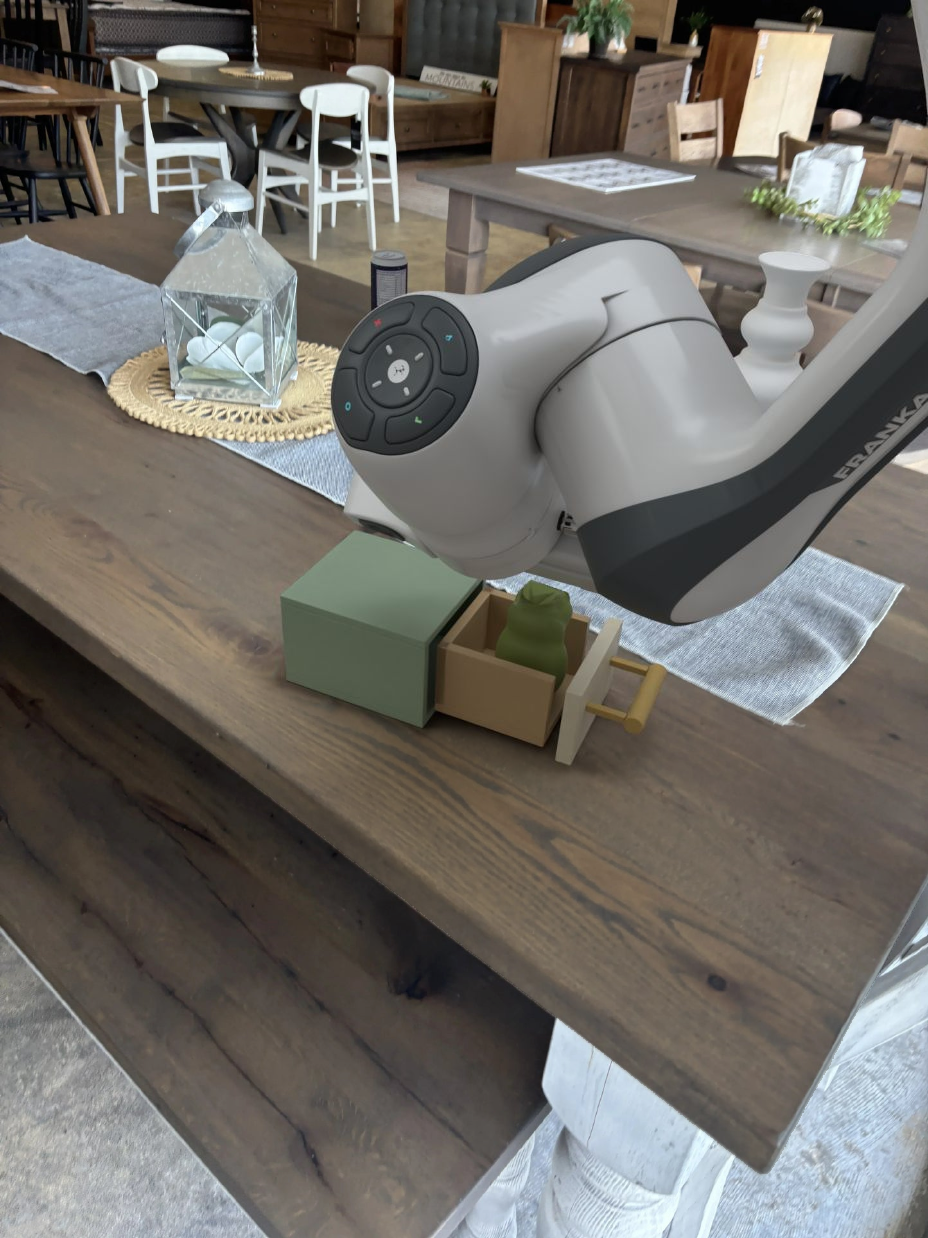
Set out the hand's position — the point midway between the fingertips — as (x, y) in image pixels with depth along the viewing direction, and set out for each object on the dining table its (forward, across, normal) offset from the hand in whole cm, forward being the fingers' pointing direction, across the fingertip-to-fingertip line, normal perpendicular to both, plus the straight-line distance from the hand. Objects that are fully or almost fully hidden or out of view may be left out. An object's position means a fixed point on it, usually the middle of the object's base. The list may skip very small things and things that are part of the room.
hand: (532, 563), depth 65 cm
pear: (+8, -1, +8) cm, 12 cm away
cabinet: (+9, +12, +10) cm, 18 cm away
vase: (+47, -8, -28) cm, 55 cm away
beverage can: (+62, +52, -43) cm, 92 cm away
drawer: (+9, -3, +9) cm, 13 cm away
